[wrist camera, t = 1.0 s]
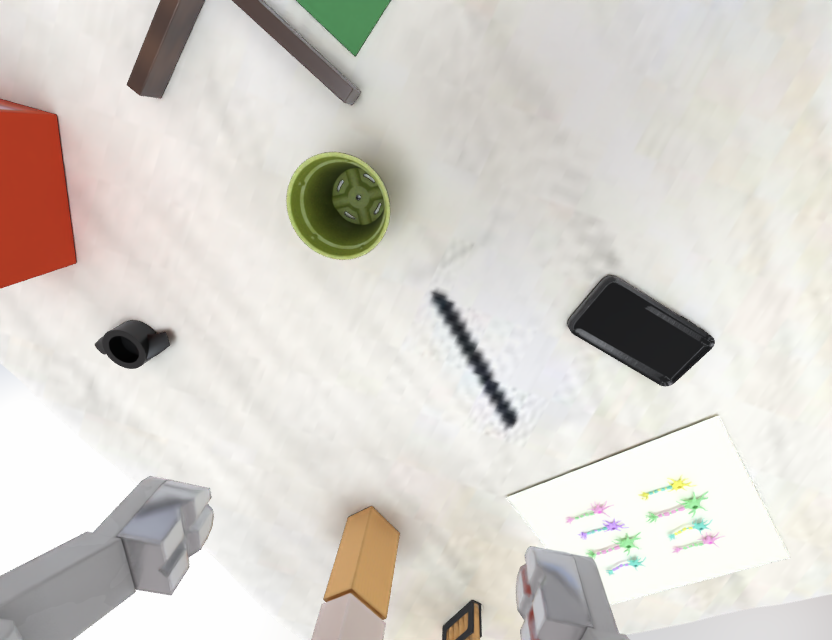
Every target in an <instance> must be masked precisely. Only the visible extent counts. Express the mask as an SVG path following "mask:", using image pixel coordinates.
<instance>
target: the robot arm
mask: <svg viewBox="0 0 832 640" xmlns="http://www.w3.org/2000/svg"><path fill="white" fill-rule="evenodd" d="M210 499H211V492H210V488H207V487H202V486H197V485H192V484H188V483H183V482H178V481H173V480H169V479H164V478H158V477H153V476H149V477H147V478H146V479H144V480H142V481H141V482H140V483H139V484H138V485H137V487H136V488H135V489H134V490H133V491H132V492H131V493H130V494H129V495H128V496H127V497H126V498H125V499H124V500H123V501H122V502H121V503H120V505H119V506H118V507H117V508H116V509H115V510H114V511H113V512H112V513H111V514H110V515H109V516H108V517H107V518H106V519H105V520H104V521H103V522H102V524H101V525H100V526H99V527H98V528H97V529H96V530H95V531H94V532H93V533H91V532H85V533H84V534H81V535H80V536H78V537H76V538H74V539H72V540H70V541H68V542H66V543H64V544H62V545H60V546H58V547H56V548H54V549H52V550H50V551H48V552H46V553H44V554H43V555H40V556H39V557H37V558H35V559H33V560H31V561H29V562H27V563H25V564H23V565H21V566H19V567H17V568H15V569H13V570H11V571H10V572H7V573H5V574H4V575H1V576H0V640H73V639H74V638H75V637H77V636H78V635H79V634H81V633H82V632H83V631H85V630H86V629H87V628H89V627H90V626H91V625H92V624H94V623H95V622H97V621H98V620H99V619H100V618H102V617H103V616H104V615H106V614H107V613H108V612H110V611H111V610H112V609H114V608H115V607H116V606H118V605H119V604H120V603H121V602H123V601H124V600H126V599H127V598H128V597H130V596H131V595H132V594H133V593H135V589H136V590H143V591H148V592H154V593H160V594H167V595H172V593H173V592H174V590H175V589H176V587H177V586H178V584H179V582H180V581H181V579H182V578H183V576H184V575H185V573H186V572H187V570H188V568H189V557H190V556H191V555H193V554H194V553H196V552H197V551H199V550H201V548H202V546H203V545H204V543H205V541H206V540H207V538H208V536H209V533H210V531H211V528H212V525H213V518H214V514H213V509H212V508H211V507H210V506H209V505H208V504H207V503H208V502H209V500H210ZM525 561H526V564H525V565H523V566H521V567H520V569H519V572H518V575H517V583H516V601H517V610H518V611H519V613H520V614H521V616H522V617H523V619H524V623H523V625H522V627H521V630H520V635H521V640H629V638H628V637H627V636H626V635H625V634H621V633H619V632H618V629H617V626H616V623H615V619H614V616H613V613H612V610H611V607H610V604H609V601H608V598H607V595H606V592H605V589H604V586H603V583H602V580H601V577H600V574H599V571H598V568H597V565H596V562H595V561H594V560H593V558H591V557H587V556H581V555H575V554H570V553H567V552H561V551H555V550H549V549H543V548H537V547H531V546H530V547H529V548H528V549H527V551H526V553H525Z"/></svg>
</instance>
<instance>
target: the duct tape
mask: <svg viewBox="0 0 832 640" xmlns="http://www.w3.org/2000/svg"><path fill="white" fill-rule="evenodd" d="M95 346H96V348H97V349H98V350H99V351H100V352H101V353H102V354H107V355H108V357H109V358H110V359H111V360H112V361H113V362H115V363H116V364H118V365H120V366H122V367H125V368H129V369H135V368H138V367H140V366H142V365H143V364H144V363H146V362H147V361H149V360H150V359H151V358H153V357H154V356H156V355H158V354H159V353H161V352H162V351H163V350H165V349H166V348H167V347H168V346H170V343H169V340H168V337H167V334H166V332H163V333H159V334H156V332H155V331H154V330H153V329H152V328H151V327H149V326H148V325H147V324H145V323H143V322H140V321H135V320H131V321H127V322H125V323H123V324H121V325H119V326H118V327H116V328H114V329H112V330H110V331H108V332H107V333H106V334H105V335H104V336H103V337H102V338H100V339H99V340H98V341H97V342H96V343H95Z"/></svg>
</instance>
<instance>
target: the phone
mask: <svg viewBox="0 0 832 640" xmlns="http://www.w3.org/2000/svg"><path fill="white" fill-rule="evenodd" d="M567 324H568V327H569V329H570V331H571V333H573V334H574V335H576V336H577V337H579V338H581V339H582V340H584V341H586V342H588V343H589V344H591V345H593V346H594V347H596V348H598V349H599V350H601V351H603V352H605V353H606V354H608V355H610V356H611V357H613V358H615V359H617V360H618V361H620V362H622V363H623V364H625V365H627V366H628V367H630V368H632V369H634V370H635V371H637V372H639V373H640V374H642V375H644V376H645V377H647V378H649V379H651V380H652V381H654V382H656V383H657V384H659V385H661V386H670V385H672V384H674V383H675V382H676V381H677V380H678V379H679V378H680V377H682V376H683V375H684V374H685V373H686V372H687V371H688V370H689V369H690V368H691V367H692V366H693V365H694V364H696V363H697V362H698V361H699V360H700V359H701V358H702V357H703V356H704V355H705V354H706V353H707V352H709V351H710V350H711V349H712V347H713V346H714V344H715V340H714V338H713V337H712V336H710V335H709V334H708V333H707V332H705V331H704V330H703V329H701V328H699V327H697V326H696V325H695V324H693V323H692V322H690V321H687V319H686V318H684V317H682V316H679V315H678V314H676V313H675V312H673V311H671V310H670V309H668V308H666V307H665V306H663V305H662V304H660V303H658V302H657V301H655V300H654V299H652V298H650V297H649V296H647V295H645V294H644V293H642V292H641V291H639V290H637V289H636V288H634V287H633V286H631V285H629V284H628V283H626V282H624V281H623V280H621V279H620V278H618V277H616V276H611V275H610V276H607V277H605V278H603V279H602V280H601V281H600V282H599V283H598V285H597V286H596V287H595V288H594V289H593V291H592V292H591V293H590V294H589V295H588V297H587V298H586V299H585V300H584V301H583V302H582V304H581V305H580V306H579V307H578V308H577V310H576V311H575V312H574V313H573V314H572V316H571V317H570V318H569V320H568V323H567Z"/></svg>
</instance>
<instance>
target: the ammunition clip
mask: <svg viewBox="0 0 832 640" xmlns="http://www.w3.org/2000/svg"><path fill="white" fill-rule="evenodd" d="M480 637H482V629H481V604H479V603H477V602H475V601H473V600H471V601H470V602H469V603H468V604H467V605H466V606H465V607H464V608H463V609H461V610H460V611H459V612H458V613H457V614H456V615H455V616H454V617H453V618H451V619H450V620H449V621H448V622H447V623H446V624H445V625H444V626H443V634H442V640H480Z"/></svg>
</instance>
